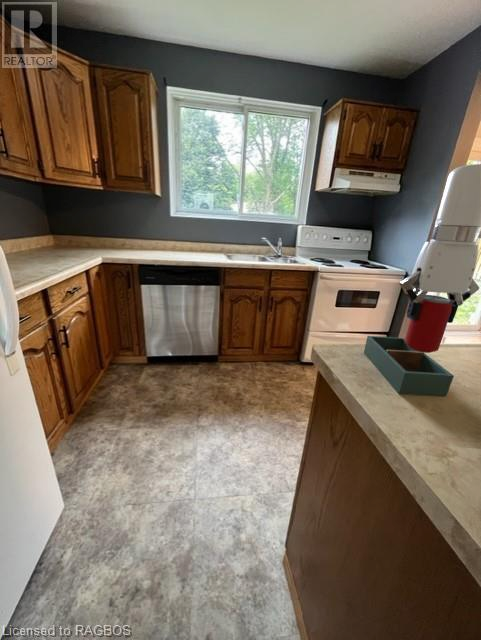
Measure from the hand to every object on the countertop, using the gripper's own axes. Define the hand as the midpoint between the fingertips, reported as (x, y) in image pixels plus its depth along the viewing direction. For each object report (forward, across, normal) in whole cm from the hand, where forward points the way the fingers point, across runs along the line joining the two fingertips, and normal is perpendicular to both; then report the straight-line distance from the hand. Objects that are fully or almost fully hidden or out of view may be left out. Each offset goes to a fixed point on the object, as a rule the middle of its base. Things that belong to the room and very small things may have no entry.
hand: (428, 319), depth 60 cm
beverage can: (+7, 0, 0) cm, 7 cm away
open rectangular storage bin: (+16, 0, -5) cm, 17 cm away
